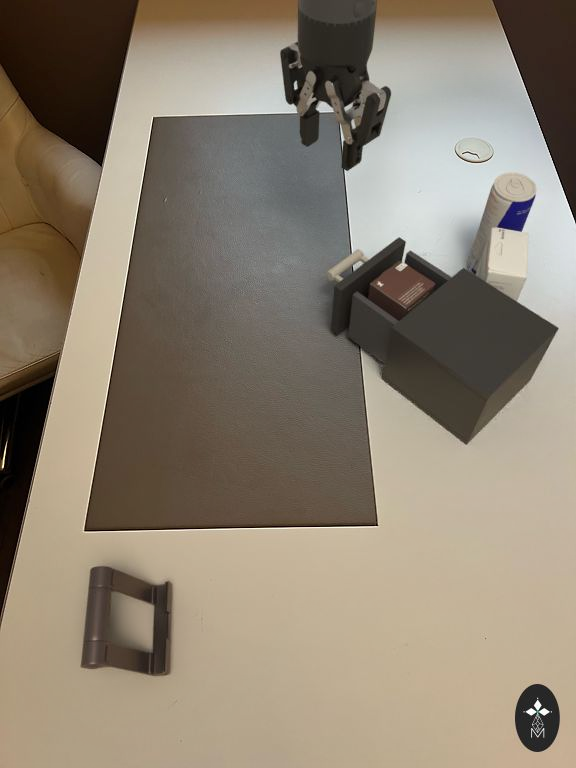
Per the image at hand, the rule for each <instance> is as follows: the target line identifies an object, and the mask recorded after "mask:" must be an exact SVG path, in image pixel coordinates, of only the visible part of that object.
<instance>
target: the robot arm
mask: <svg viewBox="0 0 576 768" xmlns="http://www.w3.org/2000/svg"><path fill="white" fill-rule="evenodd" d="M377 9H378V0H297V41H296V42H294V43H291V44H290V45H287V46H286V47H284V48H282V49H281V50H280V52H279V55H280V57H279V58H280V64H281V72H282V81H283V88H284V89H283V90H284V99H285V102H286V103H287V104H288V105H290V106H291V105H292V106H293V105H294V107H296V109H295V110H296V113H297V114H298V116H299V136H300V140H301V141H300V142H301V145H303V146H305V147H306V148H309V147H310V146H312V145H314V144H315V143H317V141H318V140H319V137H320V111H319V110H318V109H317V108H319V106H320V104H321V103H326V104H327V105H328V106H329V107H330V108H331V109H332V110H333V115H334V118H335V122H336V123H337V124H339V125H340V127H341V132H342V135H343V139H344V140H343V141H342V150H341V152H342V153H341V164H340V168H341V169H342V170H344V171H345V172H349V171H350V170H352V169H353V168H355V167H356V166H357V165H359V164H360V163H361V162H362V159H363V158H362V157H363V150H364V146H366V145H368V144H369V143H371V142H372V141H374V140H375V139H377V138H379V137H380V135H381V132H382V130H383V126H384V122H385V119H386V115H387V111H388V109H389V104H390V100H391V98H392V97H391V96H392V91H391V88H390V87H389V86H387V85H385V86H383V87H381V88H379V87H377V86H376V85H375V84H374V83H372V82H371V81H370V75H369V71H368V61H369V59H370V56H371V54H372V51H373V48H374V38H375V29H376V17H377ZM295 83H296V86H297V87H296V89H295ZM350 105H352V106H351V107H349V109H347V110H346V109H345V108H346V107H348V106H350ZM352 122H354V127H353V123H352Z"/></svg>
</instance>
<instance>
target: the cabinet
mask: <svg viewBox="0 0 576 768" xmlns="http://www.w3.org/2000/svg"><path fill="white" fill-rule="evenodd" d="M451 277H452V278H450V279H449V280H448V281H447V282H446V283H444V284H443V285H442V286H441V287H440V288H438V289H437V290H436V291H435V292H434V293H432V294H431V295H430V296H429V297H428V298H426V299H425V300H424V301H423V302H422V303H420V304H419V305H418V306H417V307H416V308H414V309H413V310H412V311H411V312H410V313H408V314H407V315H406V316H405V317H404V318H402V319H401V320H400V321H399V322H397V323H396V324H395V325H394V326H393V327H392V329H391V335H390V340H389V345H388V350H387V355H386V360H385V364H383V370H382V376H381V380H382V381H383V382H385V383H386V384H388V386H390V387H391V388H393V389H394V390H395V391H396V392H398V393H399V394H400V395H401V396H403V397H404V398H406V400H408V401H409V402H411V403H412V404H413V405H414V406H416V407H417V408H418V409H419V410H421V411H422V412H423V413H424V414H426V415H427V416H429V417H430V418H431V419H432V420H434V421H435V422H436V423H438V424H439V425H440V426H442V428H444V429H446V430H447V431H448V432H449V433H450V434H452V435H453V436H454V437H456V438H457V439H458V440H459V441H461V442H462V443H464V444H465V445H468V444H469V443H470V442H471V441H472V440H473V439H474V438H475V437H476V436H477V435H478V434H479V433H480V432H482V430H483V429H484V428H485V427H486V426H487V425H488V424H489V423H490V422H491V421H492V420H493V419H494V418H495V417H496V416H497V415H498V414H499V413H501V411H502V410H503V409H504V408H505V407H506V406H507V405H508V404H509V402H511V400H513V398H514V397H516V396H517V395H518V393H520V392H521V390H523V388H524V387H526V385H528V384H529V382H531V380H532V378H533V376H534V375H535V373H536V371H537V369H538V368H539V366H540V365H541V362H542V360H543V358H544V357H545V354H546V352H547V350H548V349H549V347H550V345H551V343H552V342H553V340H554V338H555V337H556V334H557V332H558V331H559V327H558V326H557V325H555V324H553V323H552V322H550V321H548V320H547V319H546V318H544V317H542V316H540V315H539V314H538V313H536V312H535V311H533V310H531V309H529V308H527V307H526V306H525V305H523V304H522V303H520V302H518V300H517V301H515V300H514V299H512V298H510V297H509V296H507V295H506V294H504V293H503V292H501V291H499V290H498V289H496V288H495V287H493V286H491V285H490V284H488V283H487V282H485V281H484V280H482V279H480V278H479V277H477V276H476V275H474V274H473V273H471V272H470V271H469V269H467V268H465V267H462V269H460V270H459V271H457V273H455V274H454V275H453V276H451Z"/></svg>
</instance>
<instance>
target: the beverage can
mask: <svg viewBox="0 0 576 768" xmlns="http://www.w3.org/2000/svg"><path fill="white" fill-rule="evenodd" d="M494 179H495V180H494V182H493V184H492V185H491V188H490V191H489V194H488V197H487V200H486V203H485V206H484V209H483V212H482V216H481V219H480V222H479V226H478V228H477V231H476V235H475V238H474V241H473V244H472V247H471V251H470V254H469V257H468V260H467V264H466V267H467V270H468V271H469V272H471V273H473V274H474V275H476V272H477V269H478V266H479V263H480V260H481V258H482V255H483V252H484V249H485V246H486V243H487V240H488V237H489V234H490V231H491V228H492V227H493V228H495V227H497V228H503V229H508V230H514V231H519V232H523V229H524V227H525V225H526V222H527V220H528V217H529V215H530V212H531V209H532V207H533V204H534V201H535V199H536V196H537V190H538V189H537V185H536V183H535V182H534V181H533V179H531V178H530V177H529V176H527V175H525V174H523V173H520V172H504V173H502V174H499V175H498V176H497V177H496V178H494Z"/></svg>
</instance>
